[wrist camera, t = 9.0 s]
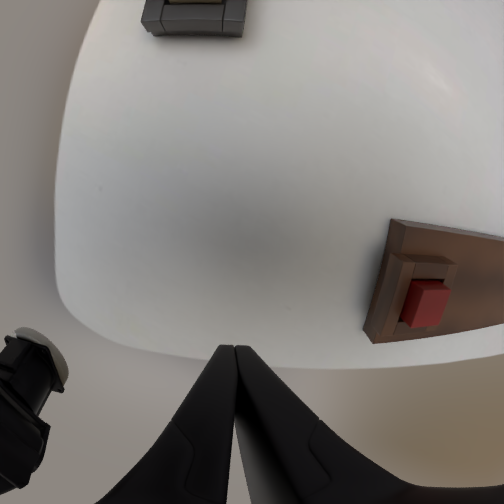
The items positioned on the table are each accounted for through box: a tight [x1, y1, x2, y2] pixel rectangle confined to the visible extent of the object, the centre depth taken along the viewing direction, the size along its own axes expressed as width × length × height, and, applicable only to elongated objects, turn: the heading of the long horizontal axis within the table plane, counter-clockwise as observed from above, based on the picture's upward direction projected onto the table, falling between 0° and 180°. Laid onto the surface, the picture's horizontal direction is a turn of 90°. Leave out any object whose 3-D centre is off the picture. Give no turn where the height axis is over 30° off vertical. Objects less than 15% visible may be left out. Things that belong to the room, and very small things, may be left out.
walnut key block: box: [363, 219, 504, 344], centre depth 21 cm, size 10×25×4 cm, turn 85°
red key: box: [400, 280, 451, 328], centre depth 18 cm, size 3×3×2 cm
